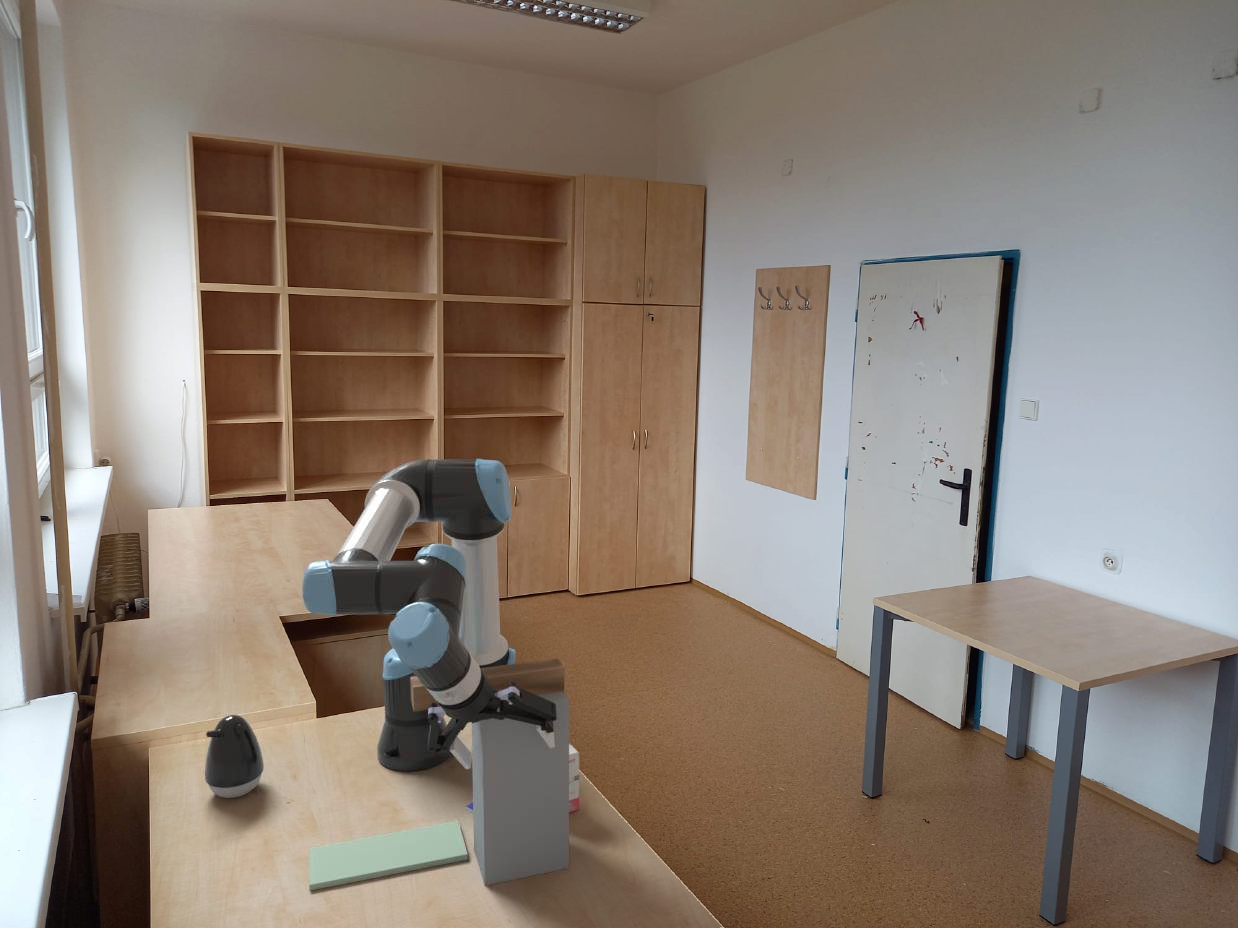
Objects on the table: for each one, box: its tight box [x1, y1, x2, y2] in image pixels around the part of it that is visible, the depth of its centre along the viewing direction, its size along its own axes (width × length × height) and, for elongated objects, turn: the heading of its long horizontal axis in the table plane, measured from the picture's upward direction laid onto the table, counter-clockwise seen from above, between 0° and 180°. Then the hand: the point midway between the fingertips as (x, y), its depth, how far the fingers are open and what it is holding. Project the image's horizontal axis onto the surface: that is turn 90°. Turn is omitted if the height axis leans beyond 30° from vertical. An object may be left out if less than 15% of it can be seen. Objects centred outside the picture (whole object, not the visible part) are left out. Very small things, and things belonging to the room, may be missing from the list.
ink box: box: [569, 742, 580, 813], centre depth 157 cm, size 9×5×12 cm, turn 118°
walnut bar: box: [410, 658, 565, 712], centre depth 136 cm, size 4×24×4 cm, turn 109°
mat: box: [308, 820, 469, 891], centre depth 143 cm, size 10×25×1 cm, turn 109°
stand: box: [471, 690, 570, 886], centre depth 141 cm, size 10×14×30 cm
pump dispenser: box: [204, 714, 265, 799], centre depth 161 cm, size 10×10×15 cm
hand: (510, 751), depth 135 cm, fingers open, 13 cm apart
